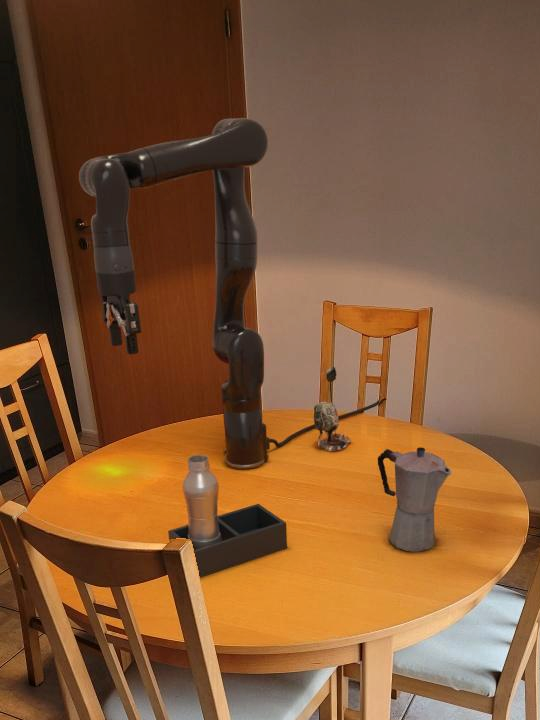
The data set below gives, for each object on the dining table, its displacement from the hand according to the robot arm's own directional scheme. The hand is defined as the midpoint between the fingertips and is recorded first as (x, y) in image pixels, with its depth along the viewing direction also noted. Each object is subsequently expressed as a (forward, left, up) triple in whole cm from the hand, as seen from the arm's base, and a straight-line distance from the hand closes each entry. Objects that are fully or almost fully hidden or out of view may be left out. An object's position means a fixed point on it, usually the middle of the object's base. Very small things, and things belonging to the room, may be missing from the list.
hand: (124, 349), depth 163 cm
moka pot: (-34, +52, -33) cm, 70 cm away
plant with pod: (-51, +2, -33) cm, 61 cm away
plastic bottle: (+2, +35, -32) cm, 48 cm away
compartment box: (-3, +35, -33) cm, 48 cm away
